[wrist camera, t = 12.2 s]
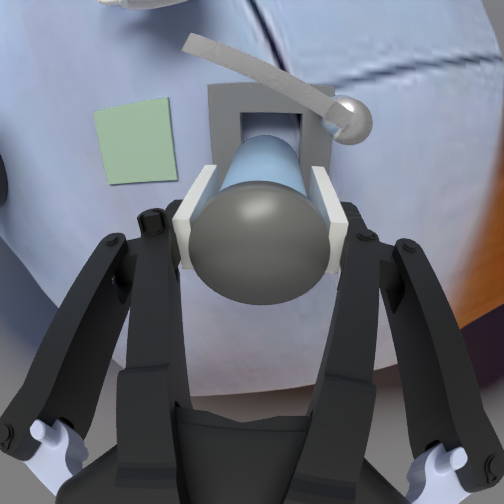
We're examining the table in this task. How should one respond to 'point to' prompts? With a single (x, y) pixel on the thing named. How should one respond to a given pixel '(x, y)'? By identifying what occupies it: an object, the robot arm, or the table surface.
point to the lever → (291, 89)
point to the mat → (137, 142)
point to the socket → (263, 100)
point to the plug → (260, 229)
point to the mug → (141, 3)
